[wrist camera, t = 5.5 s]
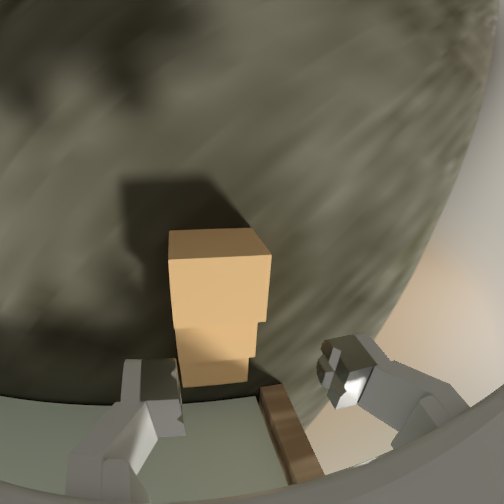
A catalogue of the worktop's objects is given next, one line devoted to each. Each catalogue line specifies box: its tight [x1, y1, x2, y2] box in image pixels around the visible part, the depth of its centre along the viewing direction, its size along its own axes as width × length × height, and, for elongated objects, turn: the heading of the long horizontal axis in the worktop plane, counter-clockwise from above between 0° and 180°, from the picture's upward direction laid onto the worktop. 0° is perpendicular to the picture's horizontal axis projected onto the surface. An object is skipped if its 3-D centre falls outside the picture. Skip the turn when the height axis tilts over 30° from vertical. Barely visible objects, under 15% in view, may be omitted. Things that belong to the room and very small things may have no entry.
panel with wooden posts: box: [259, 384, 325, 486], centre depth 14 cm, size 3×38×16 cm, turn 87°
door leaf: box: [0, 396, 288, 502], centre depth 16 cm, size 3×29×12 cm, turn 87°
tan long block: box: [168, 228, 272, 388], centre depth 19 cm, size 12×5×4 cm, turn 177°
